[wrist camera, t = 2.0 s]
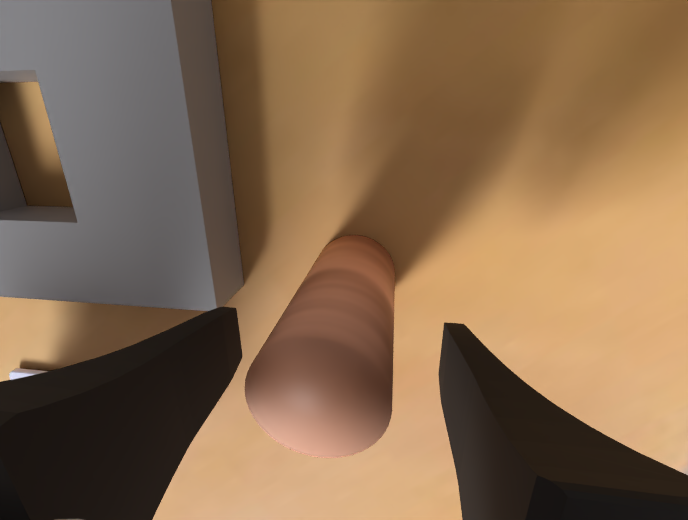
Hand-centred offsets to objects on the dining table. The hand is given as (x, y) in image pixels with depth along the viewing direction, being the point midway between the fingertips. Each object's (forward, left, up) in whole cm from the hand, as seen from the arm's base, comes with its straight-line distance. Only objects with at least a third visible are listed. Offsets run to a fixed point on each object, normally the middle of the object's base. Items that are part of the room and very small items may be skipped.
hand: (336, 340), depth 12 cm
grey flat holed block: (+6, +15, -6) cm, 17 cm away
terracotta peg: (0, 0, -6) cm, 6 cm away
